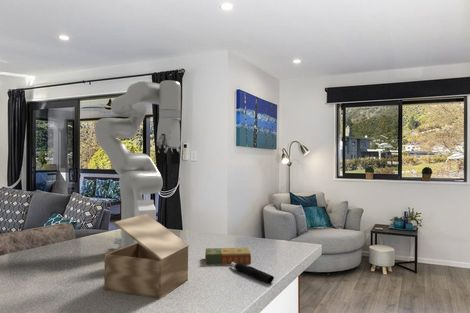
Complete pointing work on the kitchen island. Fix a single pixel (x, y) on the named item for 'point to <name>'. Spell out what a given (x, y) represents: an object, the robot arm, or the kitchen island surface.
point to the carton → (227, 255)
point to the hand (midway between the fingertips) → (169, 164)
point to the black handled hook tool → (253, 272)
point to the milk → (145, 208)
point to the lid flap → (152, 236)
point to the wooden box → (144, 271)
